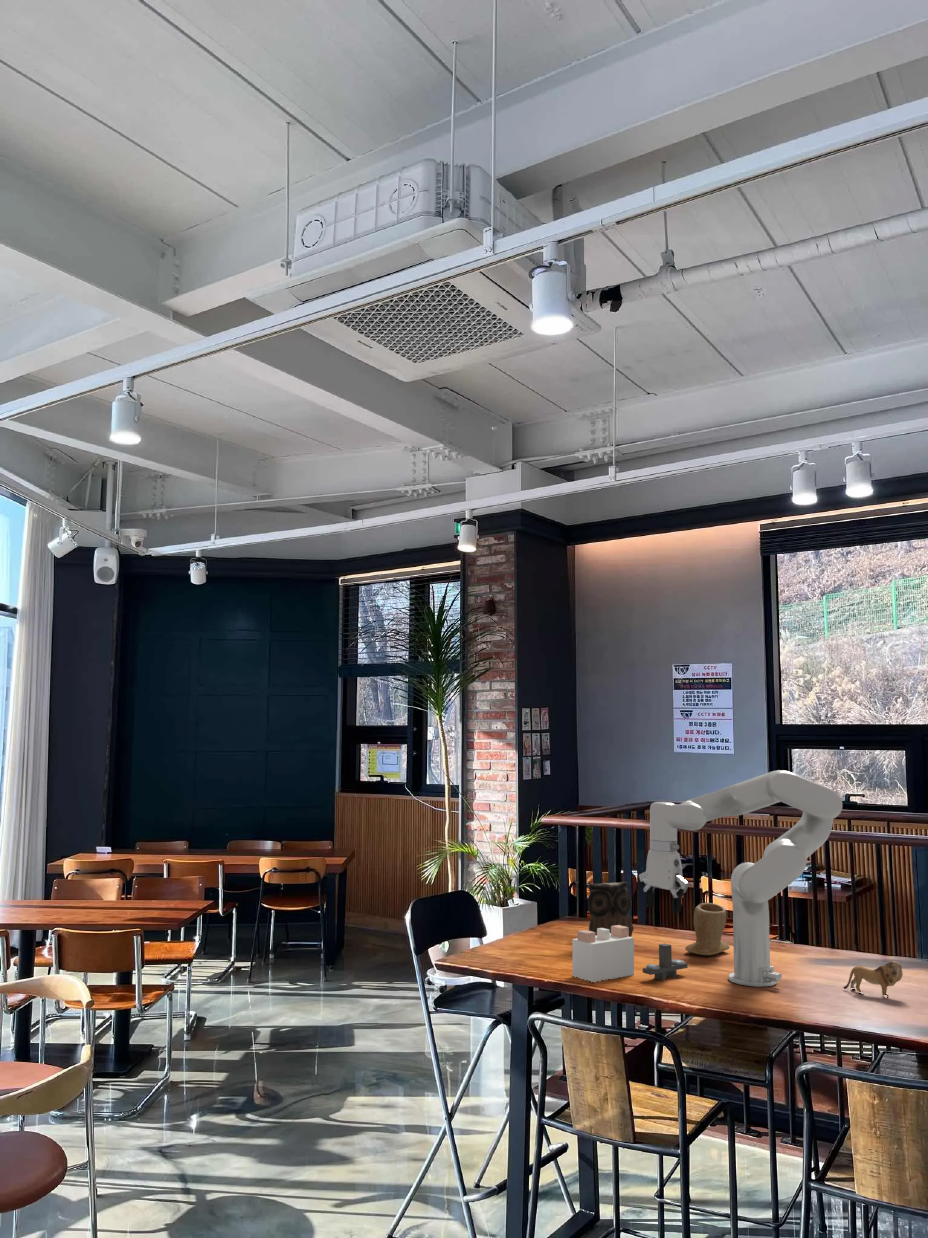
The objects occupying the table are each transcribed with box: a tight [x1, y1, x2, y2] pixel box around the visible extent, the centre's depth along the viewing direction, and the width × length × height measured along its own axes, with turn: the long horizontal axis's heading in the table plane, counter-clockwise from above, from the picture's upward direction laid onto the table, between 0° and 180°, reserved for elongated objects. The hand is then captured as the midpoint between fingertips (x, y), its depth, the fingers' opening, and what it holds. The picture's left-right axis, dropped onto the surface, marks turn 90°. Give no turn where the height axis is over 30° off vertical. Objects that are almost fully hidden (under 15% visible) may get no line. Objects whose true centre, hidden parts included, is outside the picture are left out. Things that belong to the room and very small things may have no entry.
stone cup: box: [684, 902, 730, 956], centre depth 291 cm, size 15×12×15 cm
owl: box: [587, 881, 635, 937], centre depth 299 cm, size 13×13×20 cm
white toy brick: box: [571, 925, 635, 983], centre depth 261 cm, size 8×16×12 cm, turn 126°
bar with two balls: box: [642, 943, 689, 981], centre depth 259 cm, size 4×15×9 cm, turn 126°
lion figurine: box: [842, 960, 904, 996], centre depth 245 cm, size 15×5×9 cm, turn 62°
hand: (663, 909), depth 261 cm, fingers open, 9 cm apart
